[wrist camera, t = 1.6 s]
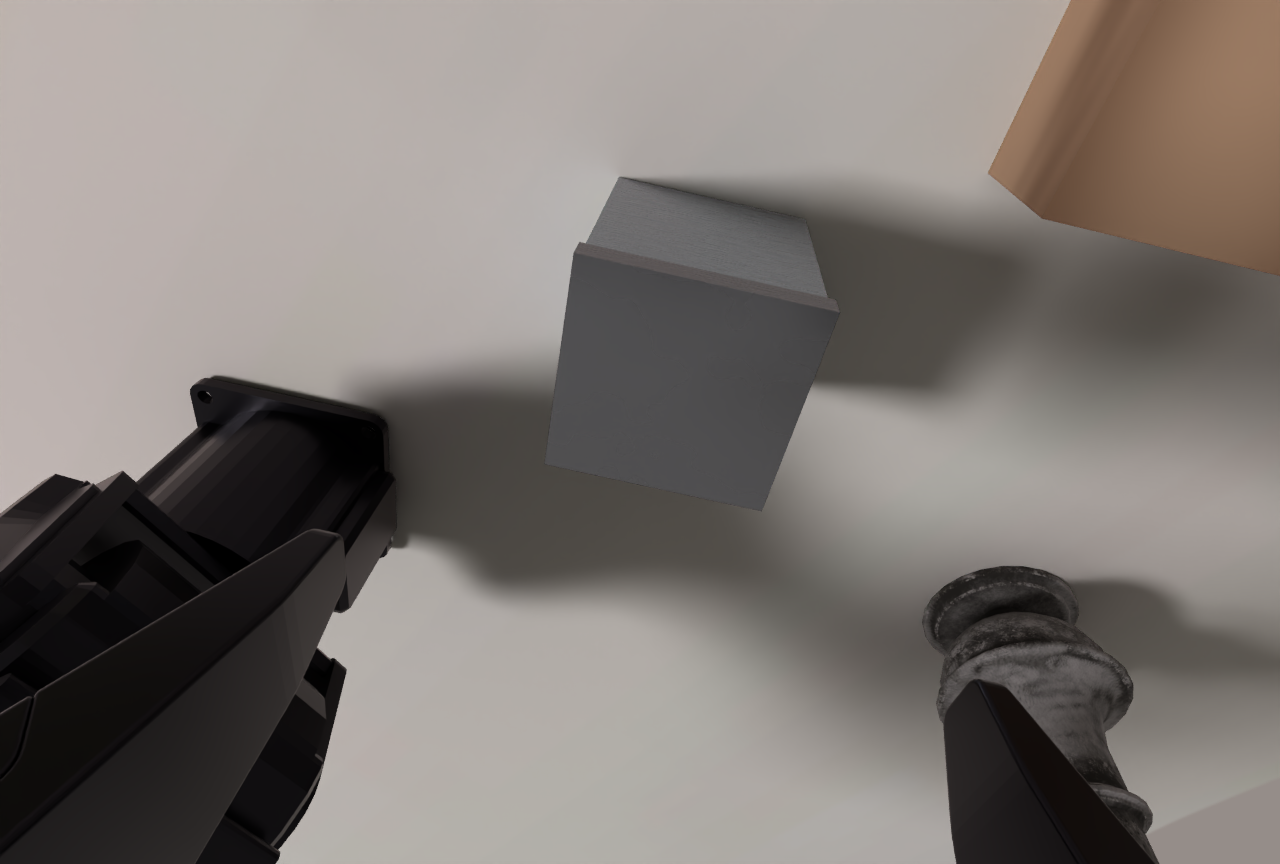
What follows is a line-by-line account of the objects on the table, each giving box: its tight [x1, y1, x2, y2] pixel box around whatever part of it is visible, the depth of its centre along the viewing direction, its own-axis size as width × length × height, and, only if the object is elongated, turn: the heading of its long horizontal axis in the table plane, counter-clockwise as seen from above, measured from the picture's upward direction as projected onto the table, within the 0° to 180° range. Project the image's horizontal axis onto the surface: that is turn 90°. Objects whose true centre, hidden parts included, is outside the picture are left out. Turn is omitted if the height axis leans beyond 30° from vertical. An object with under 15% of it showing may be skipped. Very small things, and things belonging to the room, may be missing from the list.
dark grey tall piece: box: [922, 567, 1159, 864], centre depth 21 cm, size 6×6×12 cm
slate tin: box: [544, 177, 840, 511], centre depth 17 cm, size 5×5×6 cm
